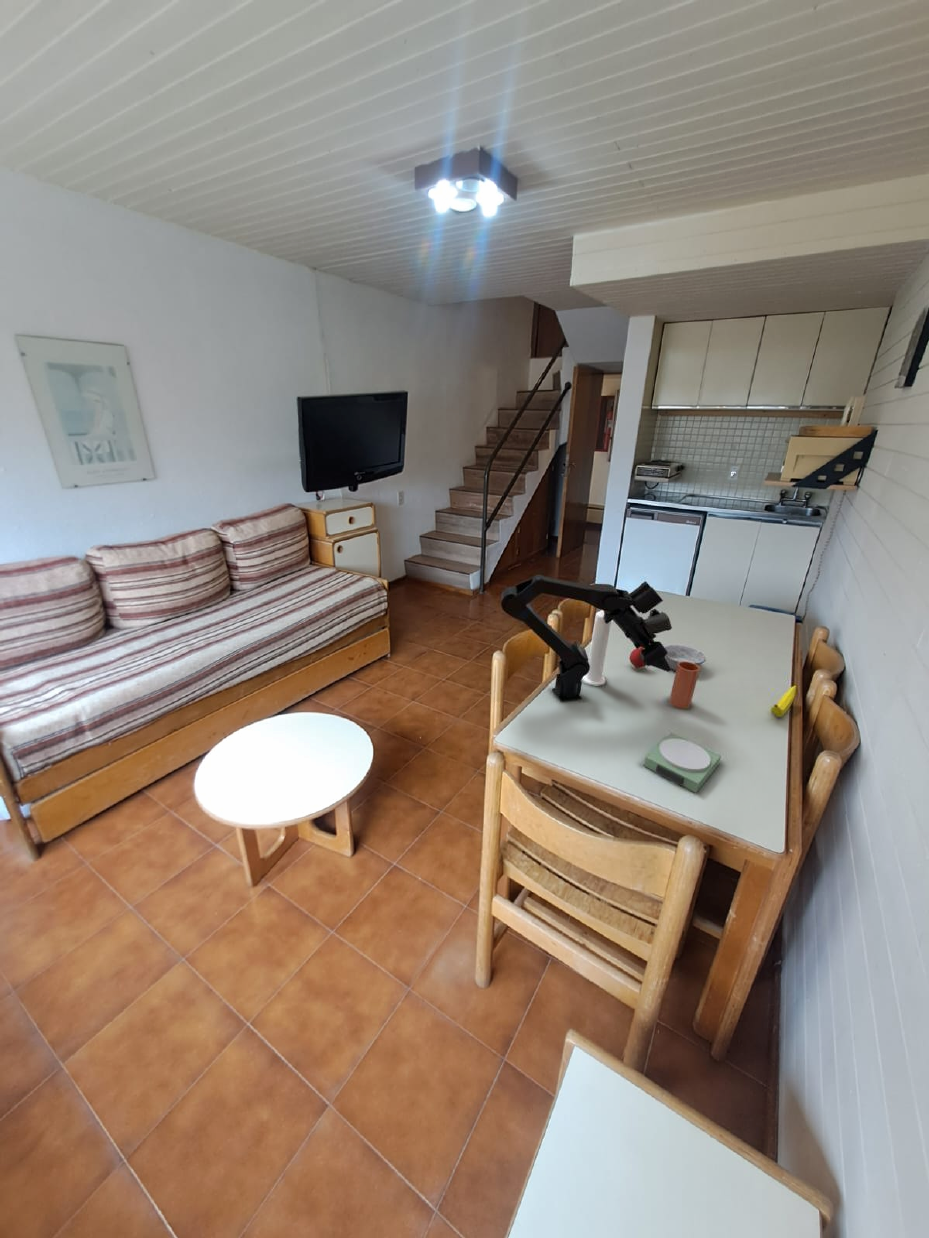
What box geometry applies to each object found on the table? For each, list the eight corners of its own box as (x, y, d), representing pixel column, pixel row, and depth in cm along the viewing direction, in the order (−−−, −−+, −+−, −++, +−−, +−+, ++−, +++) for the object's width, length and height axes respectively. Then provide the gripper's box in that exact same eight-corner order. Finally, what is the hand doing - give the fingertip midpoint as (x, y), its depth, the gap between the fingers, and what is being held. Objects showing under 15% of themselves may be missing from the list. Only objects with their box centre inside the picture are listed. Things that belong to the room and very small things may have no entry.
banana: (795, 702, 142) (802, 683, 140) (775, 727, 130) (782, 707, 128) (784, 698, 144) (791, 679, 142) (763, 722, 132) (770, 702, 130)
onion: (644, 664, 161) (648, 642, 158) (648, 673, 155) (653, 650, 152) (626, 663, 161) (630, 641, 158) (629, 671, 156) (634, 649, 153)
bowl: (676, 654, 168) (679, 641, 167) (710, 670, 159) (714, 657, 157) (651, 662, 162) (654, 649, 160) (685, 680, 152) (689, 666, 150)
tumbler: (677, 709, 136) (686, 672, 132) (665, 699, 141) (673, 662, 137) (694, 707, 138) (704, 670, 133) (681, 697, 143) (690, 660, 138)
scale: (694, 793, 106) (698, 781, 105) (642, 766, 114) (645, 755, 113) (719, 763, 116) (722, 752, 115) (669, 740, 123) (672, 729, 122)
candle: (592, 688, 146) (604, 610, 136) (576, 677, 151) (587, 601, 142) (610, 683, 149) (623, 606, 139) (594, 672, 154) (606, 598, 145)
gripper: (666, 618, 120) (702, 661, 124) (646, 592, 138) (679, 631, 141) (628, 645, 124) (664, 686, 128) (613, 616, 141) (646, 653, 145)
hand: (664, 662), depth 135 cm, fingers open, 9 cm apart
